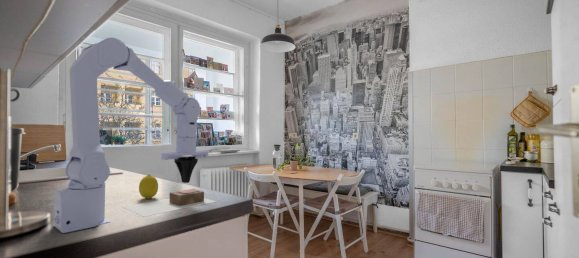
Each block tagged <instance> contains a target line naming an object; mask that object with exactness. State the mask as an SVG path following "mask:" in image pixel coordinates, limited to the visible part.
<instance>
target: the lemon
mask: <svg viewBox="0 0 579 258" xmlns="http://www.w3.org/2000/svg"><path fill="white" fill-rule="evenodd" d="M158 190H159V181H158V180H157V178H156V177H154V176H153V175H151V174H147V175H146V176H144V177H142V179H141V180H140V182H139V185H138V192H139V194H140V196H141V197H143V198H145V199H146V200H151V199H152V198H154V197H155V196H156V195H157V193H158Z"/></svg>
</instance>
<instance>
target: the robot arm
mask: <svg viewBox="0 0 579 258" xmlns="http://www.w3.org/2000/svg"><path fill="white" fill-rule="evenodd" d="M112 68H113V70H116V71H126V72H129V73H131V74H132V75H134V76H136V77H137V78H138V79H140V80H141V81H142V82H144V83H145V84H147V85H148V86H149V87H151V88H153V89H154V94H155V96H156V97H157V98H159V99H160V100H161V101H162V102H164V103H165V104H167V106H169V107H170V108H171V109H172V112H173V114H174V115H175V116H176V145H175V147H176V149H175V151H169V152H161V158H160V159H161V160H162V161H167V160H173V162H174V163H175V165H176V167H177V170H178V172H179V175H180V178H181V183H184V184H187V183H188V184H189V183H190V181H191V177H192V174H193V171H194V169H195V167H196V165H197V163H198V161H199V160H198V159H199V158H209V150H197V131H198V130H197V129H198V128H197V126H198V125H197V124H198V117H199V115H200V114H201V111H202V107H201V106H200V105H201V104H200V103H199V101H198V100H197V99H196V98H194V97H189V94H188V93H187V92H184V90H182V89H180V88H179V87H178V86H177V82H176V81H171V80H170V79H167V80H164V79H162V78H161V77H160V76H159V75H158V74H157V73H156V72H155V71H154V70H153V69H151V68H150V67H149V66H148V65H147V64H146V63H145V61H143V60H142V59H141V58H139V57H138V55H137V54H136V53H135V51H134V49H133V48H131V47H129V46H128V45H126V44H125V42H123V41H122V40H121V39H119V38H116V37H106V38H104V39H103V40H100V41H99V42H96V43H93V44H90V45H88V46H87V47H84V48H83V49H81V52H80V54H79V56H78V57H77V58H76V59H75V61H74V62H73V63H72V65H71V66H70V68H69V85H70V87H69V88H70V89H69V90H70V104H71V105H70V106H71V123H72V124H71V125H72V148H71V149H70V150H69V160H68V163H67V164H66V166H65V175H66V177H67V178H68V179H69V180H70V181H69V183H68V187H67V188H63V189H58V190H56V191H55V194H54V209H53V211H54V216H53V218H54V221H53V227H55V228H56V229H57V230H58V231H59V232H61V233H62V234H66V233H71V232H76V231H81V230H86V229H89V228H95V227H99V225H104V224H110V223H112V221H111V220H109V219H108V218H106V217H105V215H106V181H107V180H108V179H109V177H110V173H111V172H110V171H111V169H110V166H109V164H108V163H107V161H106V159H105V158H106V155H105V152H104V150H103V147H102V146H101V137H100V136H101V135H100V119H99V118H100V117H99V116H100V115H99V114H100V113H99V96H98V95H99V94H98V77H101V75H103V74H105V73H106V72H107V71H108V70H109V69H112Z"/></svg>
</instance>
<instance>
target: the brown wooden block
mask: <svg viewBox="0 0 579 258" xmlns="http://www.w3.org/2000/svg"><path fill="white" fill-rule="evenodd" d="M169 198H170V200H169V203H172V204H175V205H178V206H183V205H188V204H193V203H198V202H203V201H204V198H205V191H203V190H198V189H196V188H190V189H184V190H178V191H171V192H169Z"/></svg>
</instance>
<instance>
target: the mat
mask: <svg viewBox="0 0 579 258" xmlns="http://www.w3.org/2000/svg"><path fill="white" fill-rule="evenodd" d="M169 200H170V197H169V198H164V199H160V200H159V199H158V200H153V201H147V202H141V203H135V204H129V205H123V206H121V207H122V208H123V209H126V210H128V211H129V212H133V213H135V214H136V215H139V216H141V217H149V216H155V215H158V214H165V213H168V212H169V213H170V212H173V211H178V210H185V209H187V208H188V209H189V208H193V207H198V206H202V205H208V204H212V203H217V201H215V200H212V199H208V198H205V197H204V201H203V202H198V203H193V204H188V205H183V206H178V205H175V204H172V203H169Z"/></svg>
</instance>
